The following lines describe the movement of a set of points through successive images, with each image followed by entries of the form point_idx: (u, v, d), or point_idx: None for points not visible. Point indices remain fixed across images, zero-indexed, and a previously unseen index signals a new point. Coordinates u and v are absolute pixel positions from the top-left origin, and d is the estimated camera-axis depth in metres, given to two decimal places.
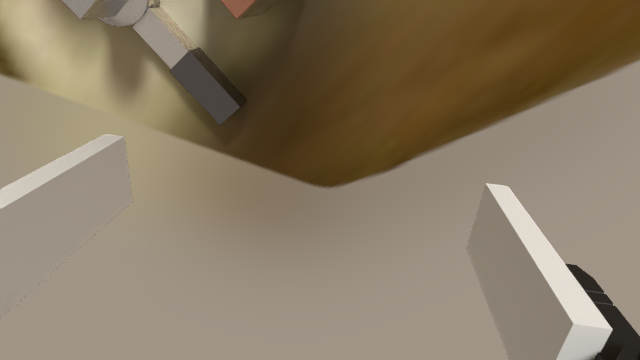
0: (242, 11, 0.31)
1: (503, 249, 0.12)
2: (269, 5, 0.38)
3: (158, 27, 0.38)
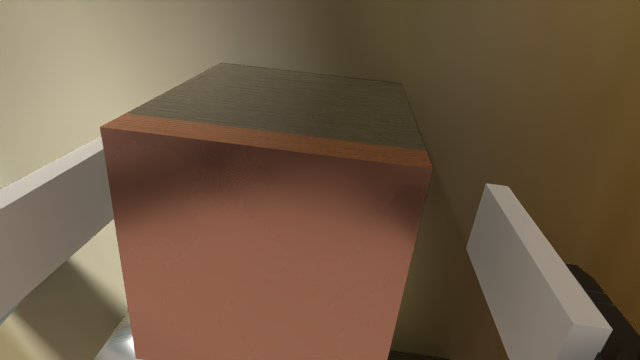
0: None
1: (503, 249, 0.12)
2: None
3: None
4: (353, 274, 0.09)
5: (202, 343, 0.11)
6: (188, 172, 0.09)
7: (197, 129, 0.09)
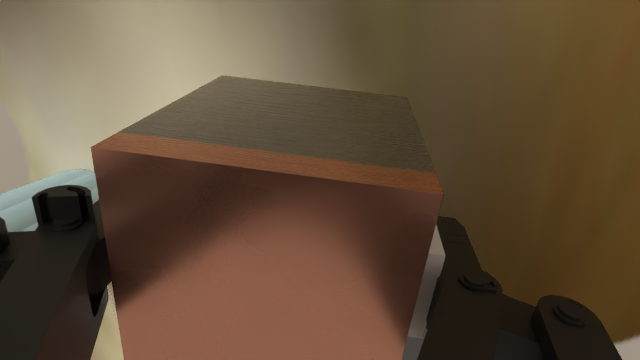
0: None
1: None
2: None
3: None
4: (357, 303, 0.09)
5: None
6: (183, 195, 0.08)
7: (194, 149, 0.08)
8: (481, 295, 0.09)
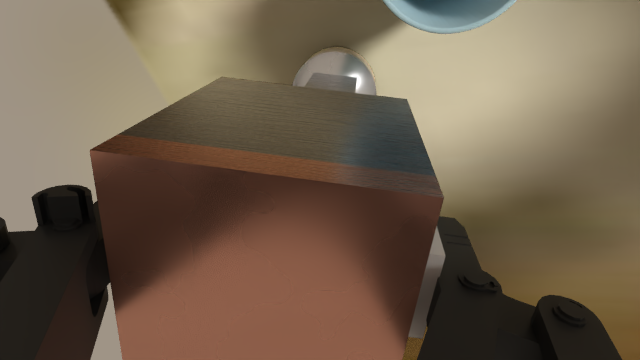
0: None
1: None
2: None
3: None
4: (357, 306, 0.09)
5: None
6: (182, 198, 0.08)
7: (193, 152, 0.08)
8: (481, 295, 0.09)
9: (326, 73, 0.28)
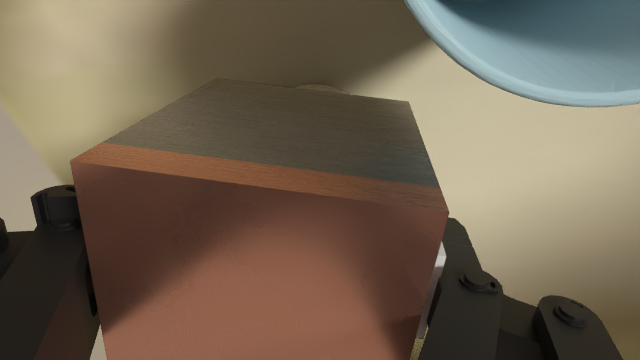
0: None
1: None
2: None
3: None
4: (356, 325, 0.08)
5: None
6: (170, 211, 0.08)
7: (181, 162, 0.08)
8: (482, 295, 0.09)
9: None
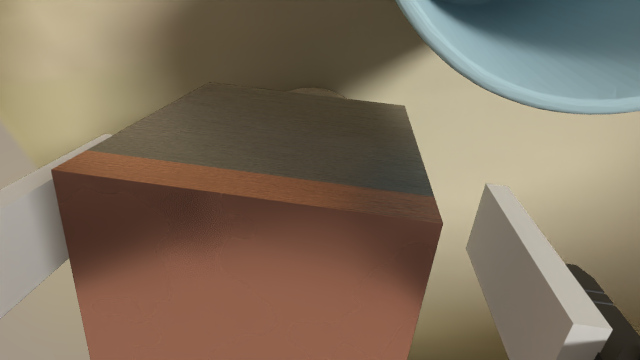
0: None
1: (503, 249, 0.12)
2: None
3: None
4: (348, 338, 0.08)
5: None
6: (155, 222, 0.07)
7: (166, 171, 0.08)
8: None
9: None
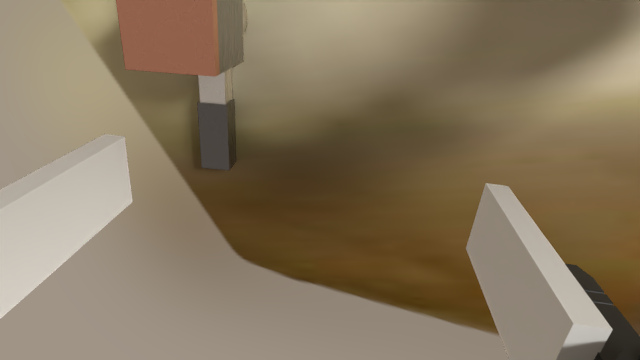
0: (214, 66, 0.30)
1: (503, 249, 0.12)
2: (242, 48, 0.37)
3: None
4: (195, 17, 0.29)
5: (149, 57, 0.30)
6: None
7: None
8: None
9: None
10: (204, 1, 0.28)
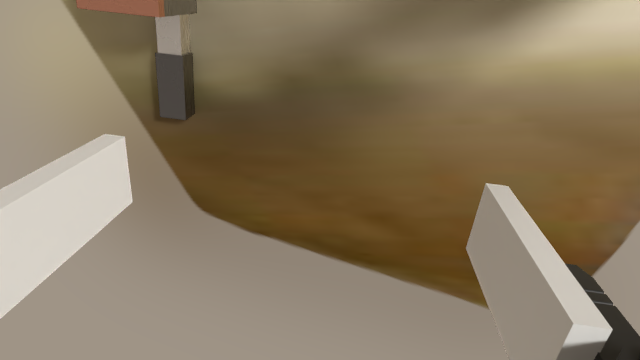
0: (157, 7, 0.33)
1: (503, 249, 0.12)
2: (195, 0, 0.39)
3: (174, 21, 0.41)
4: None
5: None
6: None
7: None
8: None
9: None
10: None
